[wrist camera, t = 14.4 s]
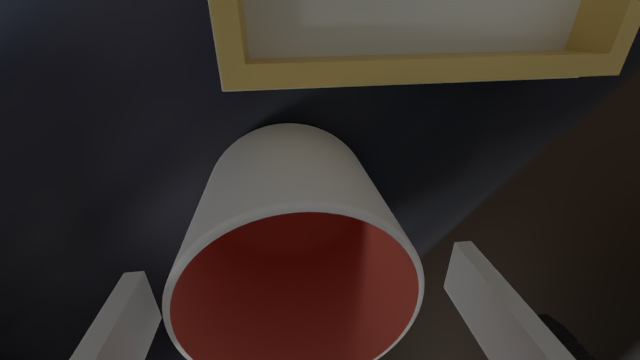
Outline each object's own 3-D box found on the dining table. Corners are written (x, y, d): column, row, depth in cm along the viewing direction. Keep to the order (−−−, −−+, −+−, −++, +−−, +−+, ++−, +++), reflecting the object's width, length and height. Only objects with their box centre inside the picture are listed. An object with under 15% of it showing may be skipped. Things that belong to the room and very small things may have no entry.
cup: (182, 206, 20) (110, 351, 11) (269, 82, 17) (267, 142, 8) (302, 267, 24) (320, 410, 15) (389, 173, 21) (475, 281, 12)
